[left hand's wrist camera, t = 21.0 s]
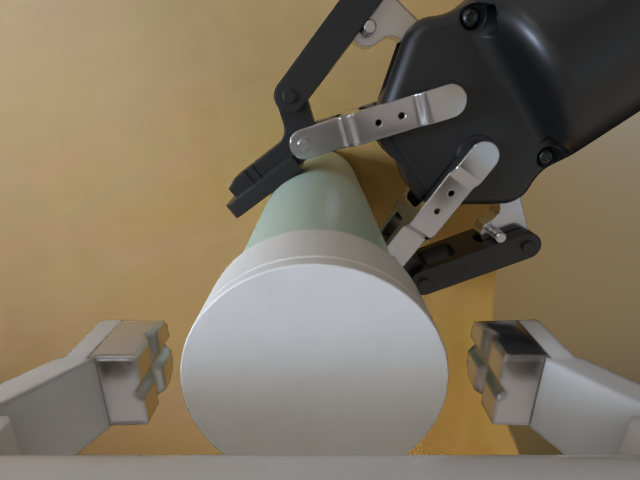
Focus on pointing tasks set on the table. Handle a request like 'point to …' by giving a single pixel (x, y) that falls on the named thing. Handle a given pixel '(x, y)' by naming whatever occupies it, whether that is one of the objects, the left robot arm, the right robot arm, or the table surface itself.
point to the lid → (314, 352)
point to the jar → (319, 203)
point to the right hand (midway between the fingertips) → (273, 251)
